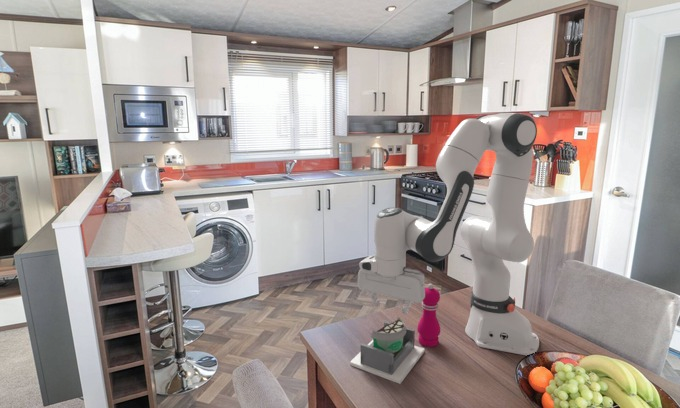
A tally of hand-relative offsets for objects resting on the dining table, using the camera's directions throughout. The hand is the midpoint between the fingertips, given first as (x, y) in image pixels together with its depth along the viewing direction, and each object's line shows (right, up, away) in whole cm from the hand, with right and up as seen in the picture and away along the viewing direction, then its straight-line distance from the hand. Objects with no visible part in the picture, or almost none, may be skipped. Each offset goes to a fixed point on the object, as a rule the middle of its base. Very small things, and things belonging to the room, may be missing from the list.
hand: (390, 309), depth 115 cm
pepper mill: (+14, -14, +12) cm, 23 cm away
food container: (+1, -15, +2) cm, 15 cm away
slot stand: (0, -16, +3) cm, 16 cm away
